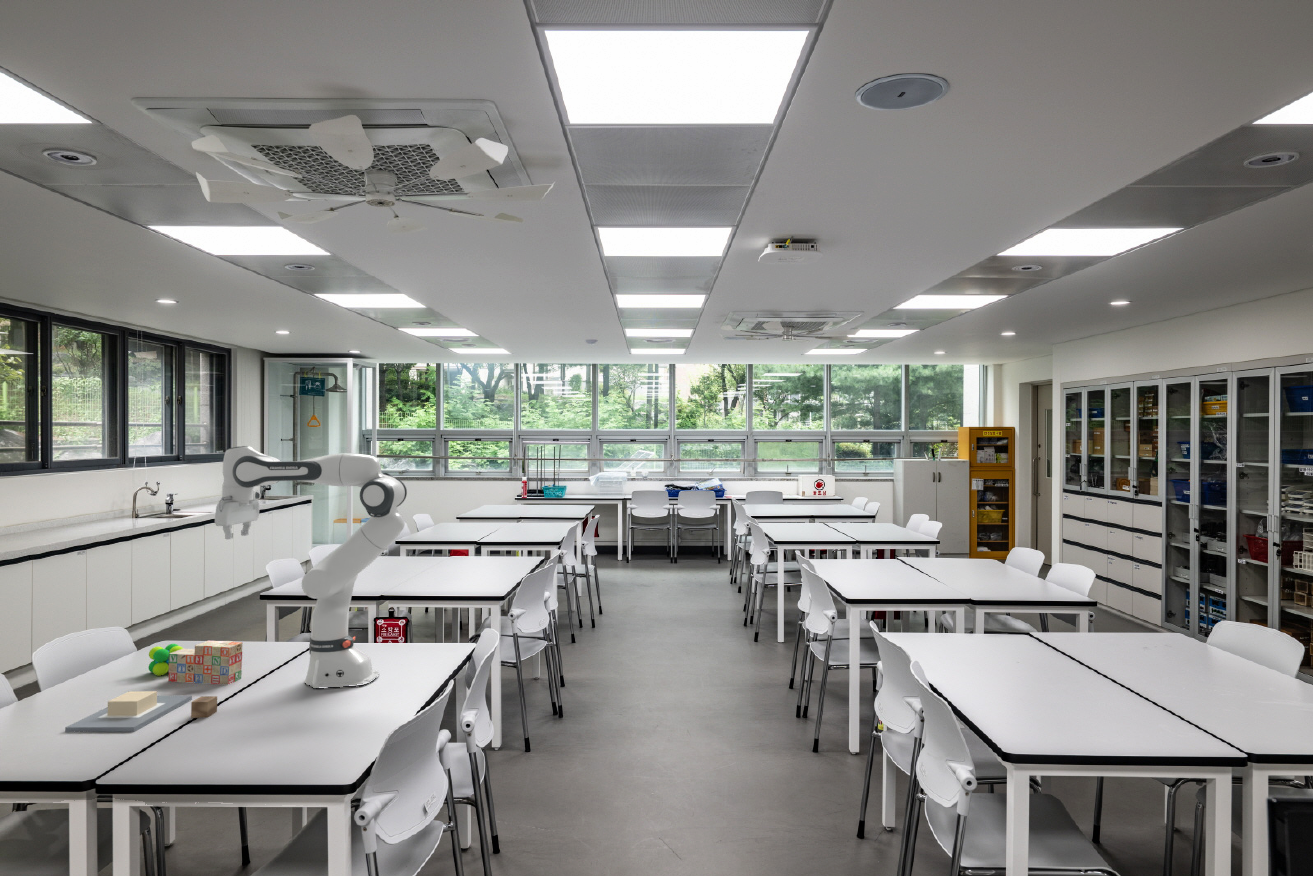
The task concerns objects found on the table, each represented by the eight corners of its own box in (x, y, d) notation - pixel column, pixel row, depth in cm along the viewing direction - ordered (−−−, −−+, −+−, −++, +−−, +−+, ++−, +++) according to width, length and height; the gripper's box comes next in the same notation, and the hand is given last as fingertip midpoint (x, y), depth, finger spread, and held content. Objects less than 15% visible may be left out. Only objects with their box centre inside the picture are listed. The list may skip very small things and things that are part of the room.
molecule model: (185, 672, 233) (176, 666, 239) (186, 646, 233) (177, 641, 239) (155, 678, 226) (146, 673, 232) (155, 651, 226) (147, 646, 232)
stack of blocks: (167, 682, 223) (168, 644, 223) (182, 676, 229) (183, 639, 229) (228, 685, 221) (229, 646, 221) (242, 678, 227) (243, 641, 227)
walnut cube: (216, 712, 198) (217, 696, 198) (207, 718, 193) (207, 701, 194) (201, 712, 198) (201, 696, 198) (191, 718, 193) (191, 701, 193)
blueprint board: (191, 699, 207) (192, 682, 207) (134, 731, 183) (134, 712, 183) (131, 699, 207) (131, 682, 207) (65, 732, 183) (65, 712, 183)
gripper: (230, 497, 216) (229, 541, 215) (263, 493, 236) (262, 533, 236) (209, 497, 215) (208, 541, 215) (244, 493, 236) (243, 533, 235)
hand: (237, 537), depth 226 cm, fingers open, 8 cm apart
